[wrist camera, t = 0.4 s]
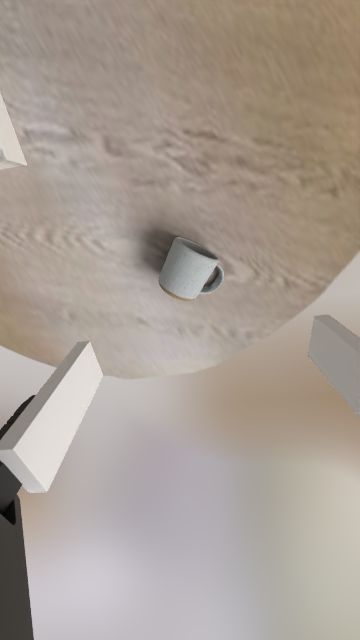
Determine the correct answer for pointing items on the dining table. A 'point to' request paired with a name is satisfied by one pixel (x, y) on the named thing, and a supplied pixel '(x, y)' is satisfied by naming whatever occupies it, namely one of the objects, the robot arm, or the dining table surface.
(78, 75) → the dining table surface
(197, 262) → the ceramic mug
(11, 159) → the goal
